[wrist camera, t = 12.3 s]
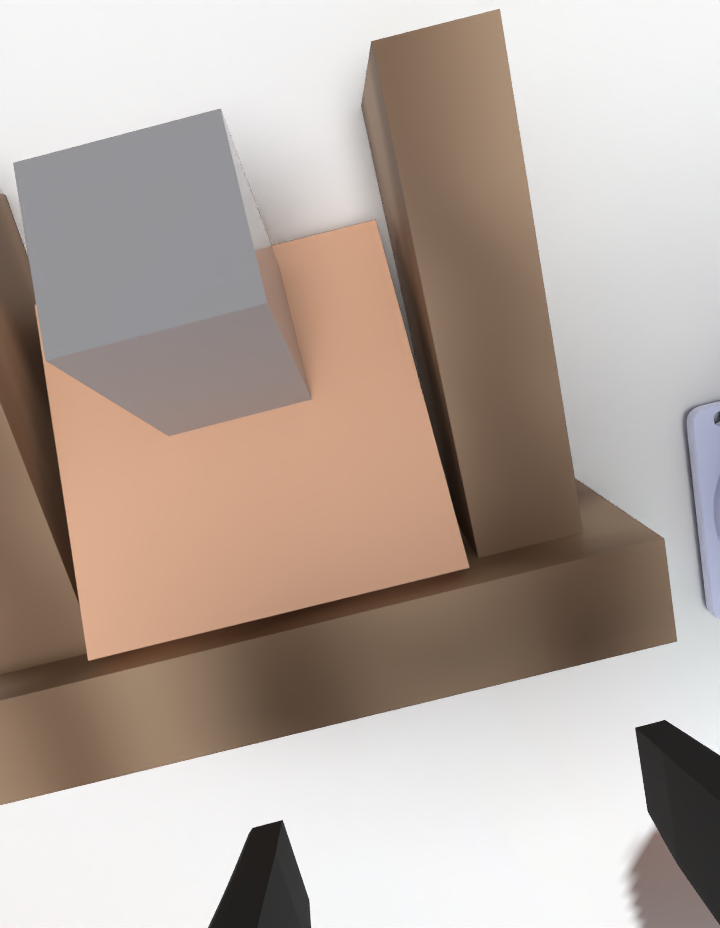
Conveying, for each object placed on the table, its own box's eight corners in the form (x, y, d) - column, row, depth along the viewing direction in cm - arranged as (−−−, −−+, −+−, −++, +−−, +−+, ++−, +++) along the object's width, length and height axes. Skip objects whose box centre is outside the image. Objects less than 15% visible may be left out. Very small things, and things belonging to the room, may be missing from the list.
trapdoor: (376, 242, 19) (375, 219, 17) (464, 568, 17) (469, 567, 16) (57, 321, 19) (34, 304, 18) (109, 654, 17) (88, 660, 16)
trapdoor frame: (508, 68, 18) (591, -45, 13) (585, 555, 22) (677, 641, 16) (-140, 231, 19) (-354, 194, 13) (50, 685, 22) (-47, 816, 17)
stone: (279, 266, 17) (220, 108, 11) (311, 399, 17) (267, 303, 11) (142, 302, 17) (13, 163, 11) (168, 436, 17) (45, 360, 11)
